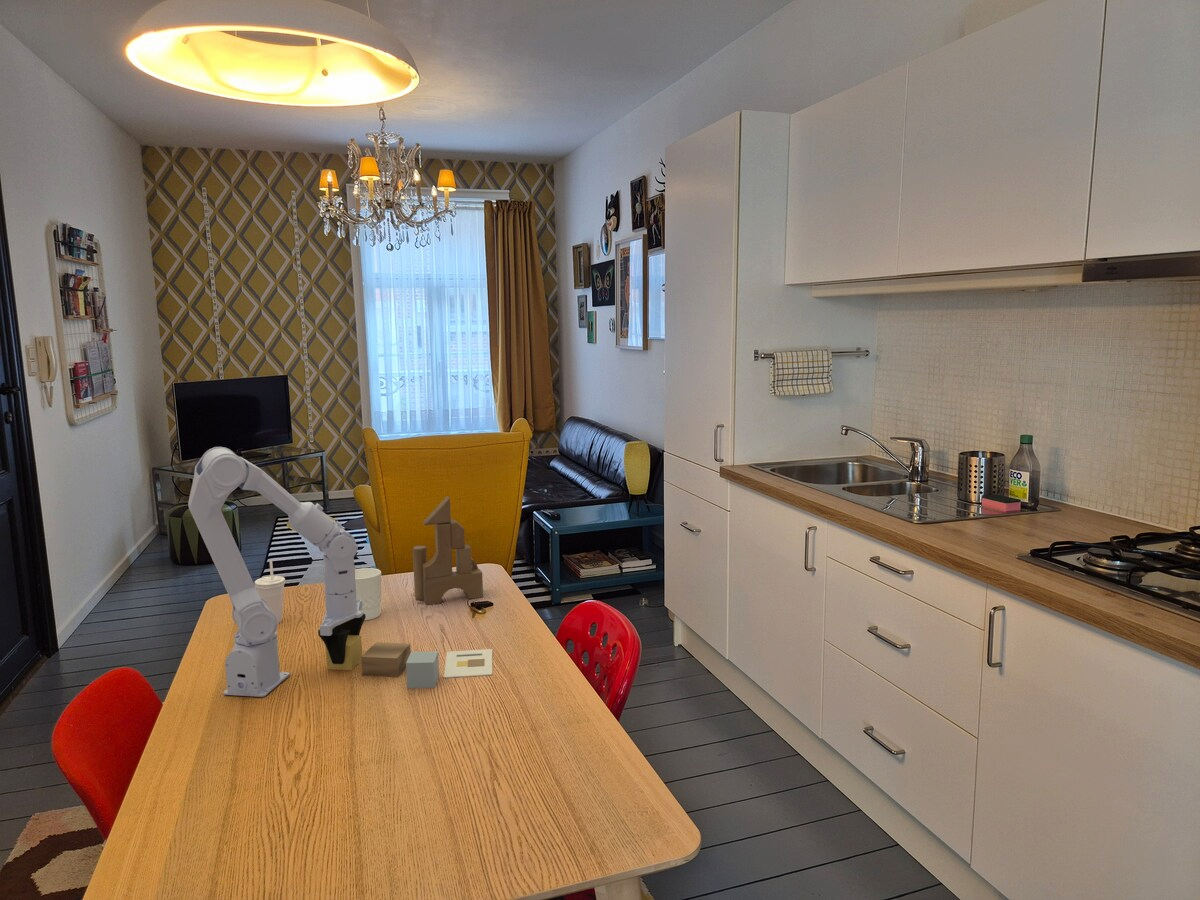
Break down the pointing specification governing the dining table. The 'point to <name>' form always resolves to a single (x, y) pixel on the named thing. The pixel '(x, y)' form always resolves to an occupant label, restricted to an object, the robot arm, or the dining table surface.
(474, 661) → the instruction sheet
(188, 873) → the dining table surface
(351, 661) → the mustard brick
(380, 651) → the walnut base
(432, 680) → the slate brick
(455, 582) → the wooden toy
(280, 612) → the smoothie
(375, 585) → the white cup
